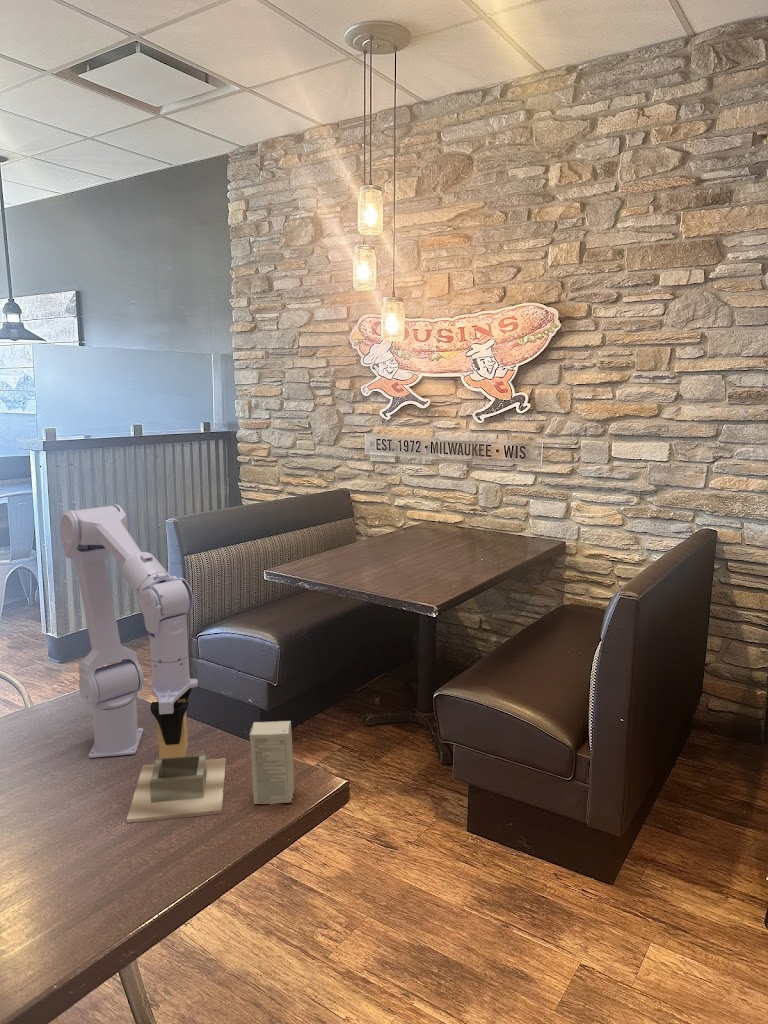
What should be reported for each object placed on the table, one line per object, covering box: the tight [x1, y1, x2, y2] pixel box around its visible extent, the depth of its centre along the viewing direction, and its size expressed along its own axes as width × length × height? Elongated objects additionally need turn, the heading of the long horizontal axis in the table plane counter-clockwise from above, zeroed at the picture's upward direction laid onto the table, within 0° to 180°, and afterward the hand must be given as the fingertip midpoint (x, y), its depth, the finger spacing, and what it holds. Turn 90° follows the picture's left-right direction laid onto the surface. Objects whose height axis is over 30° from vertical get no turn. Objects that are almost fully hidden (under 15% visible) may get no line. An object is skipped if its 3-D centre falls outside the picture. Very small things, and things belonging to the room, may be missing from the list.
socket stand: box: [126, 752, 227, 824], centre depth 118 cm, size 16×14×4 cm
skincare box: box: [249, 720, 295, 804], centre depth 115 cm, size 6×4×12 cm
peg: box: [156, 699, 189, 759], centre depth 116 cm, size 4×4×8 cm
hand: (174, 736), depth 116 cm, fingers closed on peg, 4 cm apart
